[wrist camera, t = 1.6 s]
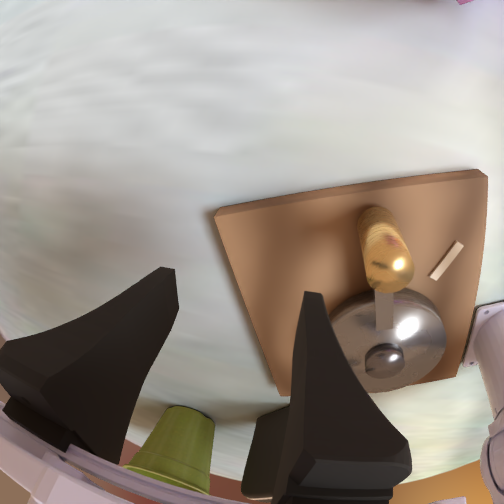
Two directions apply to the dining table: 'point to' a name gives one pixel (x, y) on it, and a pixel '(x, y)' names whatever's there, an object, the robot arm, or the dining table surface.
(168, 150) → the dining table surface
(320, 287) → the cutting board
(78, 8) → the dining table surface
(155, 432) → the plant pot
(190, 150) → the dining table surface
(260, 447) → the battery charger
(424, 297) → the crank handle wheel
